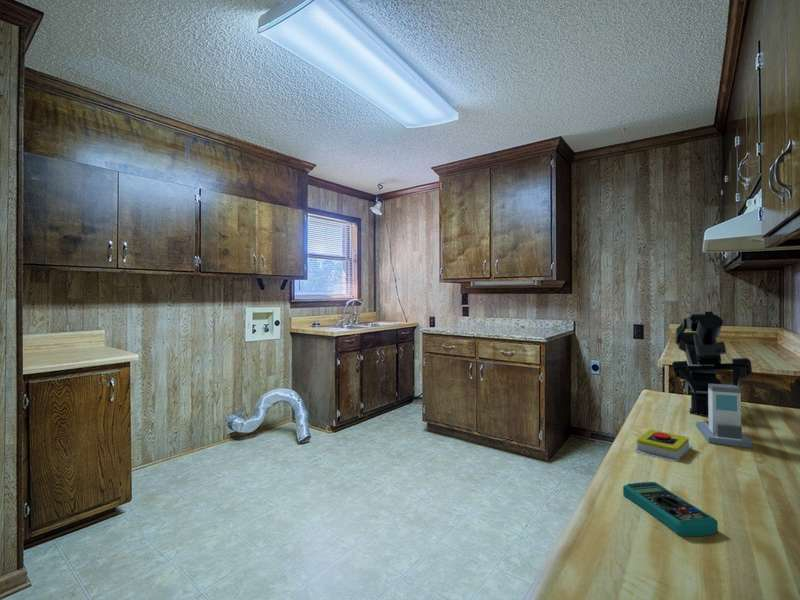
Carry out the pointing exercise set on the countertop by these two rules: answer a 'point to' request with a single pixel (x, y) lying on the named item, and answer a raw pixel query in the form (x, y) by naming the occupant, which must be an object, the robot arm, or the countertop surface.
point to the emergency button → (663, 445)
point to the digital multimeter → (671, 509)
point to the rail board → (713, 439)
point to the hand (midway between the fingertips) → (715, 393)
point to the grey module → (724, 405)
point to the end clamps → (729, 431)
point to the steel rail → (722, 437)
